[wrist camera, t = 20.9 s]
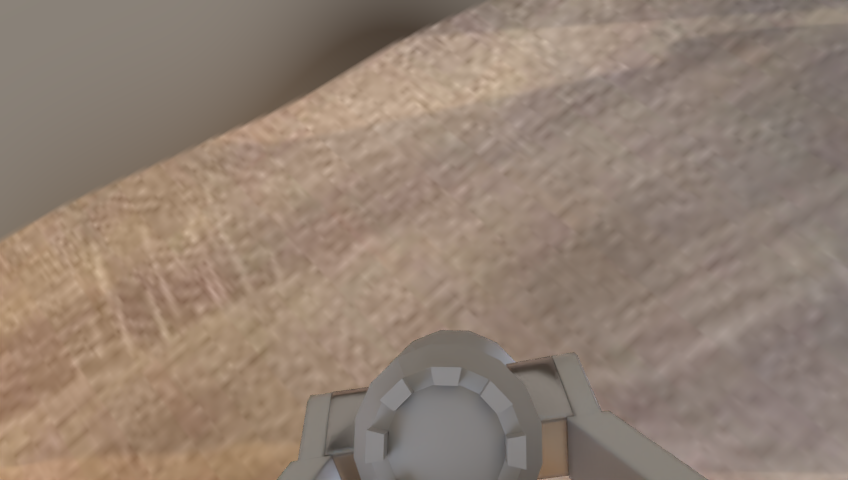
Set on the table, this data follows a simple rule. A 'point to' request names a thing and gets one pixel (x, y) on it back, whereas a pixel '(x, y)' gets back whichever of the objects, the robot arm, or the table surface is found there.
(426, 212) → the table surface
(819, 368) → the table surface
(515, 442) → the rook chess piece
